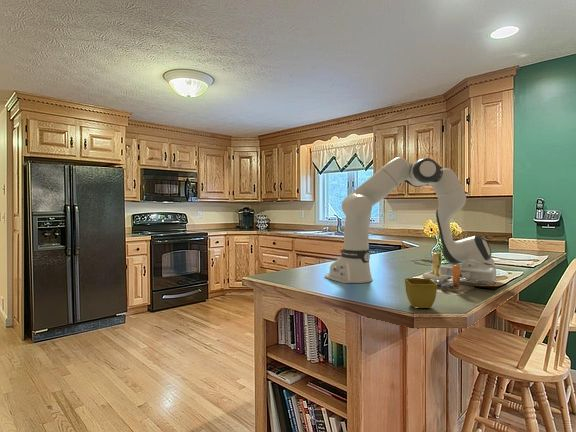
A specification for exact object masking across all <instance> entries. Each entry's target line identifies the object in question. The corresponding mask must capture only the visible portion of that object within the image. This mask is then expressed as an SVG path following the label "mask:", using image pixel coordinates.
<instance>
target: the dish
mask: <svg viewBox="0 0 576 432" xmlns="http://www.w3.org/2000/svg"><path fill="white" fill-rule="evenodd" d="M451 277H452V276H448V275H442V274H441V276H437V275H433V270H430V271H427V272H424V273H423V274H422V278H423V279H431V280H436V279H439V280H445V281H446V280H448V279H449V278H451Z"/></svg>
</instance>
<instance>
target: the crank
mask: <svg viewBox="0 0 576 432" xmlns="http://www.w3.org/2000/svg"><path fill="white" fill-rule="evenodd" d="M452 265H453V276H452V283H453V284H450V283H451V282H447V281H446V279H445V280H439V279H433V280H434V282H435V283H436V284H437V286H442V285H447V288H450V289H454V290H455V289H459V287H460V285H461V282H460V280H461V278H460V266H461V265H460V264H452ZM446 282H447V283H446Z"/></svg>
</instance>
